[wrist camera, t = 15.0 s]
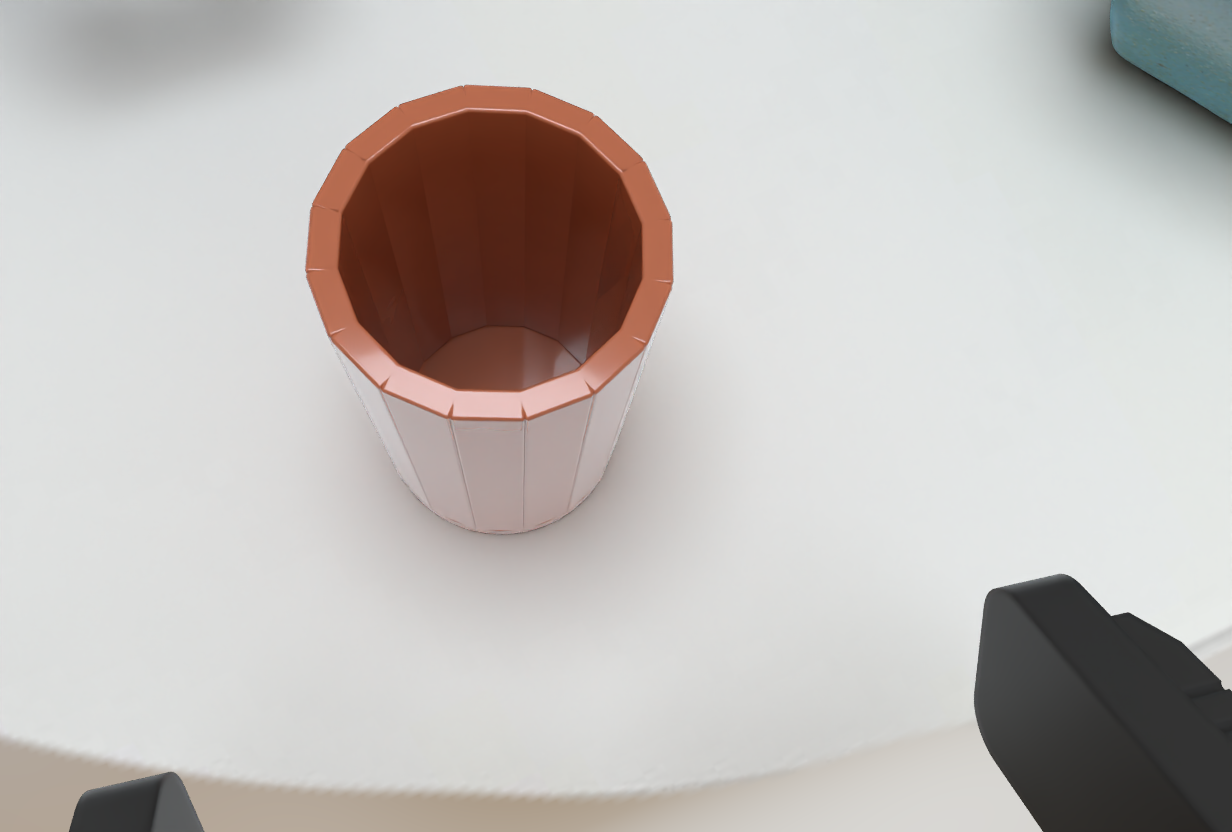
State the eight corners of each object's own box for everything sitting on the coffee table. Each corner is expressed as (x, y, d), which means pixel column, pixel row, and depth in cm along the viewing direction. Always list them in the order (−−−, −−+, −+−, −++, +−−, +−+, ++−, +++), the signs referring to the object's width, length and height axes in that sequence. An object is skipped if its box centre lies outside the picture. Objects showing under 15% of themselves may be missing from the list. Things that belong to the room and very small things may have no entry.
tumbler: (435, 570, 23) (378, 475, 14) (357, 361, 24) (257, 146, 15) (650, 485, 24) (730, 344, 15) (565, 288, 25) (591, 43, 16)
